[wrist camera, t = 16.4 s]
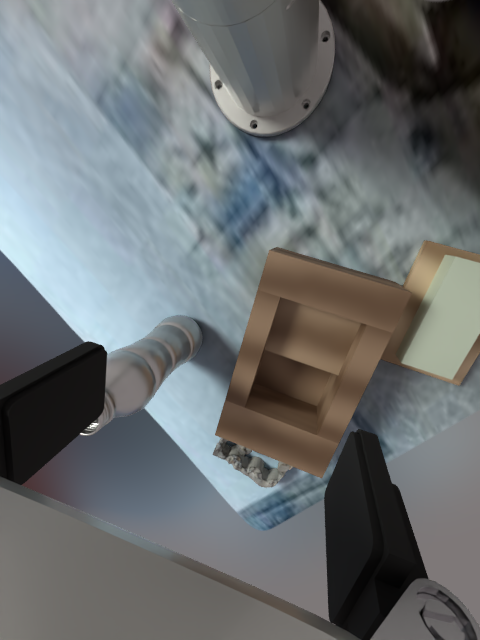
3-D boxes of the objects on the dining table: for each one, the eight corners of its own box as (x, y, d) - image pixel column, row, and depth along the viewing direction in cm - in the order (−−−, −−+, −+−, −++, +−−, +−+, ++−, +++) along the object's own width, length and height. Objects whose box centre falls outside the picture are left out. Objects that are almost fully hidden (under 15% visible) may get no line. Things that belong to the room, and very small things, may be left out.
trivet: (424, 240, 31) (427, 240, 30) (524, 267, 30) (531, 268, 29) (371, 353, 36) (372, 356, 35) (455, 381, 35) (459, 385, 34)
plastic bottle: (216, 341, 41) (133, 434, 22) (180, 362, 43) (78, 461, 24) (190, 302, 40) (82, 364, 21) (155, 325, 42) (30, 399, 24)
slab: (445, 254, 30) (455, 256, 28) (500, 269, 30) (516, 272, 27) (395, 354, 34) (400, 363, 32) (442, 369, 34) (452, 379, 31)
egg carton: (301, 445, 43) (300, 467, 39) (273, 476, 45) (270, 498, 41) (240, 404, 43) (233, 421, 39) (216, 437, 46) (207, 456, 42)
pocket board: (276, 247, 35) (269, 250, 29) (394, 281, 33) (412, 292, 27) (228, 407, 43) (215, 435, 37) (320, 442, 41) (321, 478, 35)
